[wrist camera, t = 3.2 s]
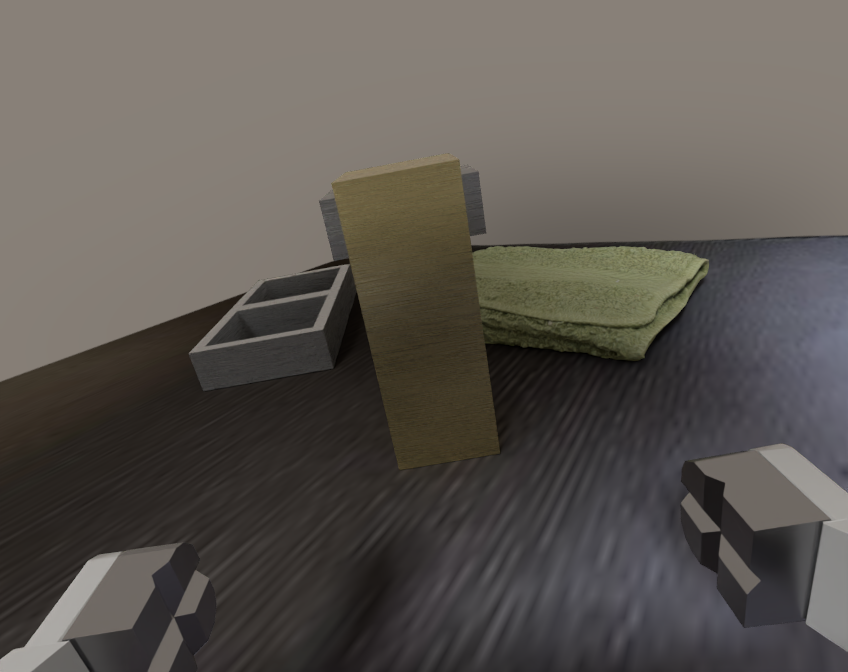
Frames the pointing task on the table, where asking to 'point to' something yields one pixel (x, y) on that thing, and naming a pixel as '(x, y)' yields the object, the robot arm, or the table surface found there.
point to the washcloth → (583, 296)
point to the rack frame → (278, 329)
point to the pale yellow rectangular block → (420, 301)
